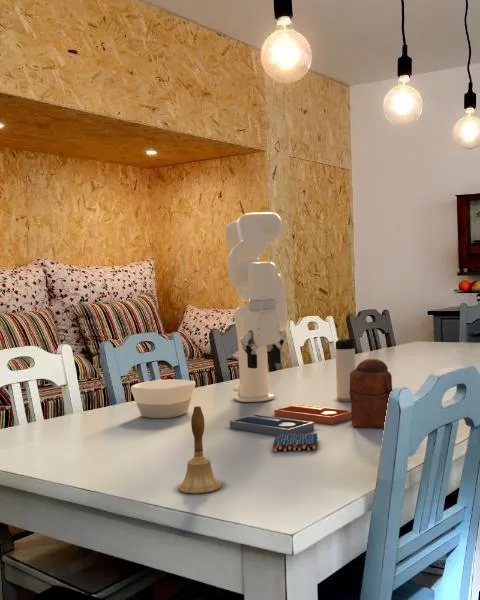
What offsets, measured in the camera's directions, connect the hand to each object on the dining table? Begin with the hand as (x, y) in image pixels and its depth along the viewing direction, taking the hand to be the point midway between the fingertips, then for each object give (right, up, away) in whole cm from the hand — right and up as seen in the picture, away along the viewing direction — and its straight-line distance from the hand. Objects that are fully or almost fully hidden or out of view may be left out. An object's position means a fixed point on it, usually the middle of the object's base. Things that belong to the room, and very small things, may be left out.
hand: (264, 365), depth 206 cm
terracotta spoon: (+14, -14, +1) cm, 20 cm away
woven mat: (+9, -17, -32) cm, 37 cm away
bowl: (-31, -16, +13) cm, 37 cm away
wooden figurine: (+29, -15, -13) cm, 36 cm away
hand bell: (-10, -18, -64) cm, 67 cm away
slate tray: (+2, -16, -12) cm, 20 cm away
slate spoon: (+3, -15, -12) cm, 20 cm away
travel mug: (+25, -14, +27) cm, 40 cm away
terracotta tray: (+14, -15, +1) cm, 21 cm away
